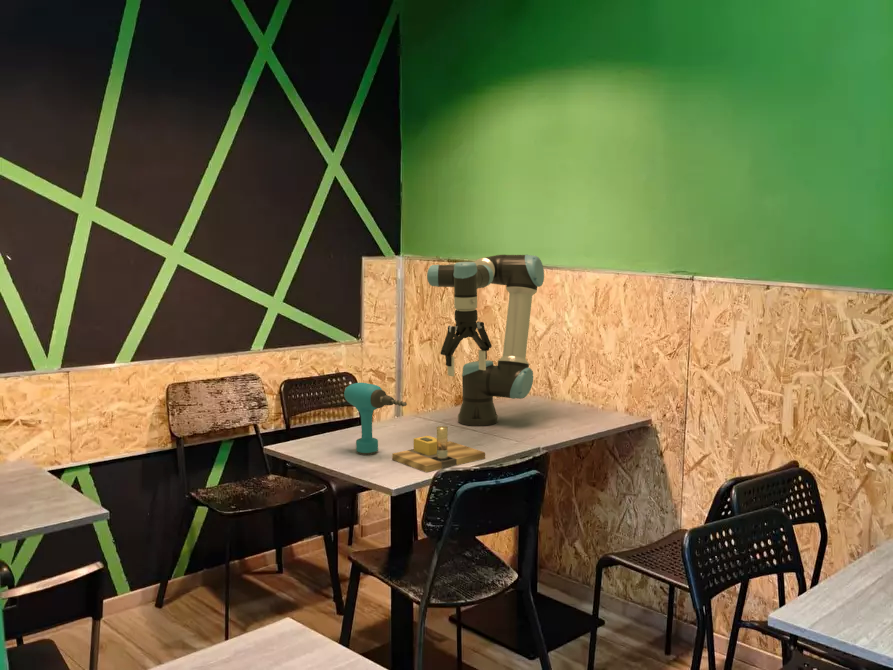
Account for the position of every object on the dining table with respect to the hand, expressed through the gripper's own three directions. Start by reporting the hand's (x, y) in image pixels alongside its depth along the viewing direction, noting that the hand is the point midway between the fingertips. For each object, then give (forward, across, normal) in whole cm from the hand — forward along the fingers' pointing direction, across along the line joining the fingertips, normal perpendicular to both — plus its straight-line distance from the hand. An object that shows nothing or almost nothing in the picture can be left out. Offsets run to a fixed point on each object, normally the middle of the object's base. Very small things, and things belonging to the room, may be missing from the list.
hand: (466, 372), depth 282 cm
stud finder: (+24, -17, 0) cm, 29 cm away
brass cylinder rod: (+25, -18, -9) cm, 33 cm away
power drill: (+26, -28, +13) cm, 40 cm away
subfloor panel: (+26, -16, -4) cm, 30 cm away
